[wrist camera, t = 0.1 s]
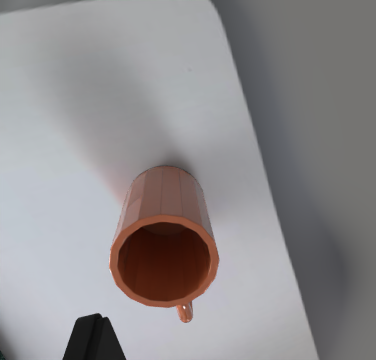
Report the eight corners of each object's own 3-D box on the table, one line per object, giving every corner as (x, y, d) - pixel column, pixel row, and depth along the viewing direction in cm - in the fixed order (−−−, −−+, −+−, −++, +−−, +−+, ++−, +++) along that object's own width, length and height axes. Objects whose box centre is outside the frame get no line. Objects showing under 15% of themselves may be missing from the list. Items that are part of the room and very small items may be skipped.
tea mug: (116, 176, 28) (94, 230, 19) (194, 157, 28) (205, 202, 19) (148, 270, 31) (141, 351, 23) (218, 254, 31) (236, 329, 23)
